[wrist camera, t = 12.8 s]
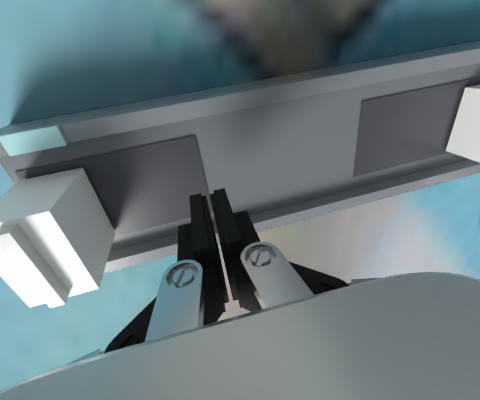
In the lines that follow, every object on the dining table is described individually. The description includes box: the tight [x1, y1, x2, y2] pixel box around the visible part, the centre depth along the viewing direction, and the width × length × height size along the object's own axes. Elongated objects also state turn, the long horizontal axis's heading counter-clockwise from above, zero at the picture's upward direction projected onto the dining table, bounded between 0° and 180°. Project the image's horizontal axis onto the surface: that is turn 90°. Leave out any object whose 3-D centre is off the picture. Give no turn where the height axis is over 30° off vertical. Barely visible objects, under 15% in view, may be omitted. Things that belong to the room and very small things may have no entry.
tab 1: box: [0, 167, 115, 308], centre depth 12 cm, size 3×4×5 cm
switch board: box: [0, 40, 480, 274], centre depth 17 cm, size 32×9×4 cm, turn 96°
